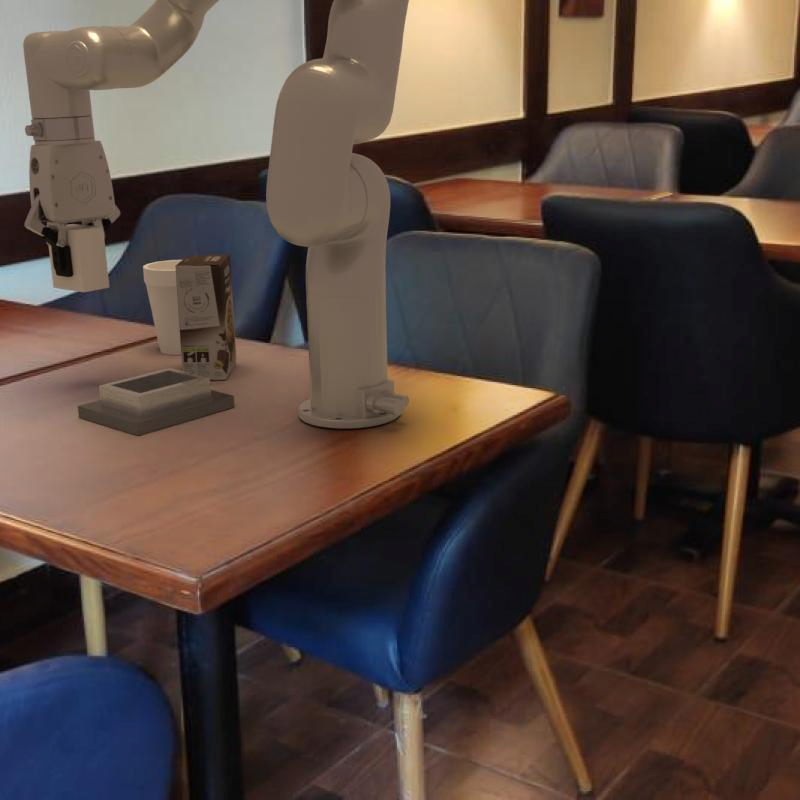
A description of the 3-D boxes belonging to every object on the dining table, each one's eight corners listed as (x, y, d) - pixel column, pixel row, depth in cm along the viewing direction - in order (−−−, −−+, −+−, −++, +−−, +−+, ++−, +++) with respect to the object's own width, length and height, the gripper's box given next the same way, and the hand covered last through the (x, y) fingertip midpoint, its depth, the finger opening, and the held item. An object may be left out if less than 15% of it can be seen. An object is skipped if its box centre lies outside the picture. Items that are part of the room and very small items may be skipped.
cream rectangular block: (109, 287, 159) (103, 226, 157) (83, 292, 156) (76, 230, 154) (79, 282, 163) (72, 224, 161) (53, 287, 161) (46, 227, 158)
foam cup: (183, 360, 176) (176, 272, 173) (137, 353, 181) (129, 267, 177) (225, 346, 184) (219, 262, 180) (179, 340, 189) (173, 258, 185)
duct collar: (234, 407, 152) (232, 376, 151) (137, 435, 142) (135, 403, 140) (174, 391, 160) (172, 362, 159) (78, 417, 149) (75, 386, 148)
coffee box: (228, 380, 165) (221, 264, 160) (181, 381, 165) (173, 264, 161) (238, 364, 174) (231, 253, 169) (193, 364, 174) (186, 253, 169)
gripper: (22, 136, 146) (40, 285, 151) (134, 127, 158) (148, 266, 163) (-11, 136, 151) (8, 280, 156) (101, 127, 163) (115, 262, 168)
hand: (79, 271), depth 159 cm, fingers closed on cream rectangular block, 4 cm apart
